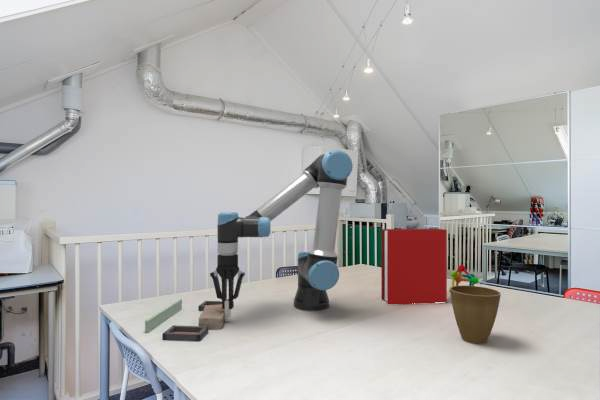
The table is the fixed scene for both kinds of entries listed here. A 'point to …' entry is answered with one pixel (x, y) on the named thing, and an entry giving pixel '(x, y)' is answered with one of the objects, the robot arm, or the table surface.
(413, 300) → the book
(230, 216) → the robot arm
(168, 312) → the sage end wall
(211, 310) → the brick
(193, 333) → the trap pits
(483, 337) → the plant pot
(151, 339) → the table surface
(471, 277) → the educational toy
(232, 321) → the table surface
